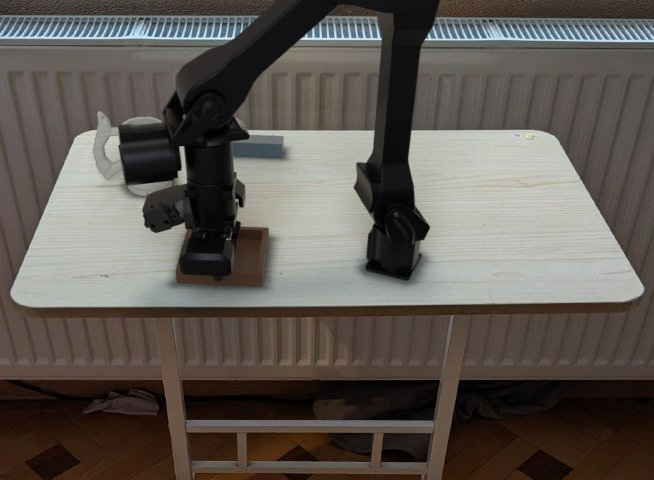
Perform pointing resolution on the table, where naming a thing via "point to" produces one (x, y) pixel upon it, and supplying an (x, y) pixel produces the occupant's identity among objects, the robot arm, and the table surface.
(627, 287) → the table surface
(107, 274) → the table surface
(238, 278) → the tray
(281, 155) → the bar
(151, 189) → the mug
